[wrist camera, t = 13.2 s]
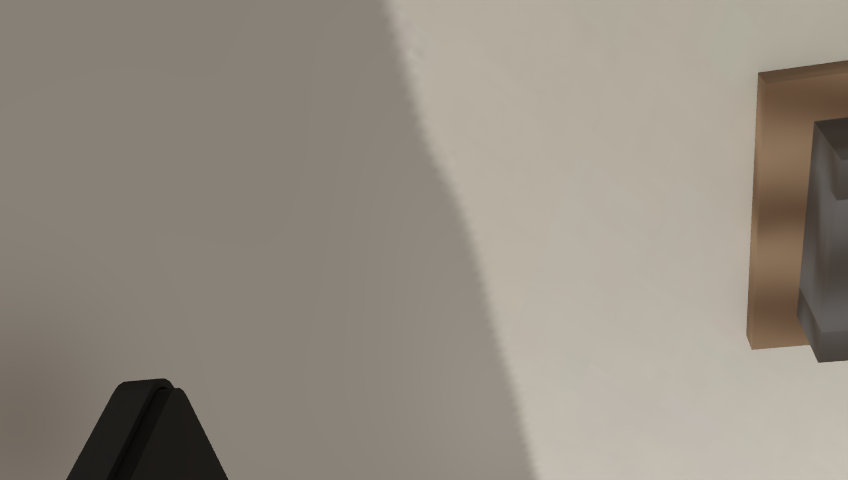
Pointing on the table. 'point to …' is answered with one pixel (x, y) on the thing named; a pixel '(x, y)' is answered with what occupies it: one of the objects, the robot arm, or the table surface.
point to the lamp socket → (800, 212)
